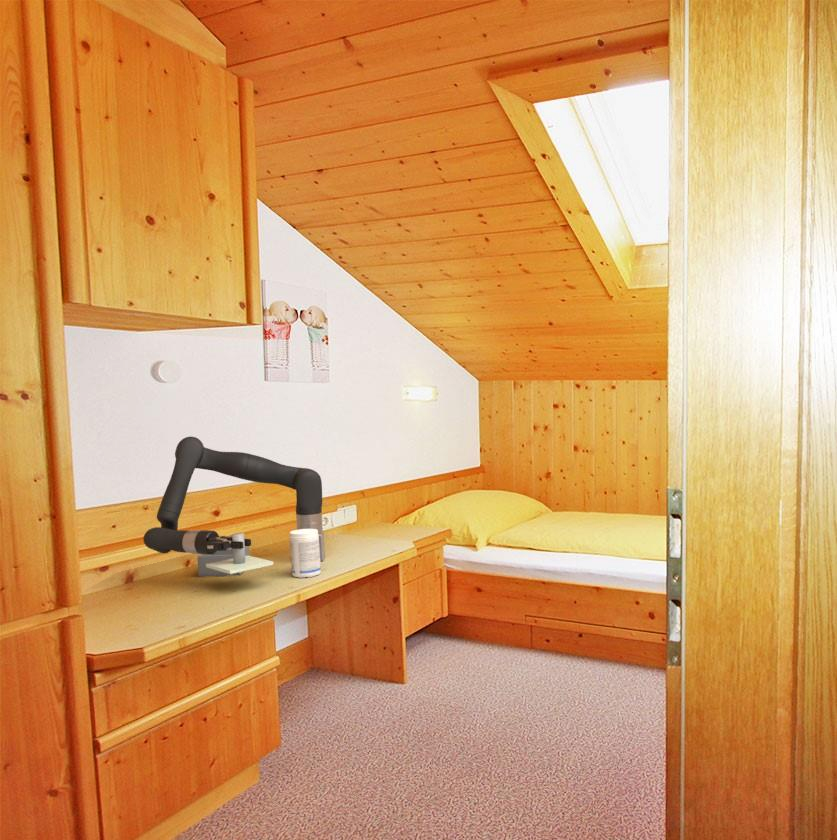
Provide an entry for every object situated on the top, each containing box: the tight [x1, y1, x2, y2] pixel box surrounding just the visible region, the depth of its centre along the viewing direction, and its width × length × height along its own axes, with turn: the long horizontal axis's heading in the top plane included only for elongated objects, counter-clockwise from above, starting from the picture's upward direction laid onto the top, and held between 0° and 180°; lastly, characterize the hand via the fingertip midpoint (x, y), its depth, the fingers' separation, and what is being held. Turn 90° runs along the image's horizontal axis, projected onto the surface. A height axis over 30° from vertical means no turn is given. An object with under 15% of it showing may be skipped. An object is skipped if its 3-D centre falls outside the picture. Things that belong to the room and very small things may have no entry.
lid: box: [206, 532, 274, 574], centre depth 225 cm, size 15×15×10 cm
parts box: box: [197, 546, 251, 578], centre depth 249 cm, size 14×14×7 cm
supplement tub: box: [289, 529, 322, 579], centre depth 239 cm, size 10×10×15 cm
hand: (246, 543), depth 224 cm, fingers closed on lid, 3 cm apart
